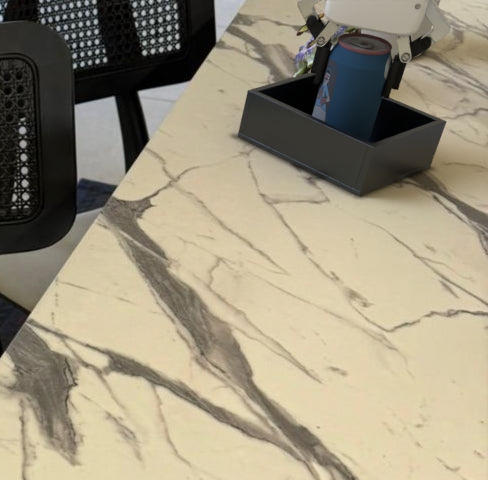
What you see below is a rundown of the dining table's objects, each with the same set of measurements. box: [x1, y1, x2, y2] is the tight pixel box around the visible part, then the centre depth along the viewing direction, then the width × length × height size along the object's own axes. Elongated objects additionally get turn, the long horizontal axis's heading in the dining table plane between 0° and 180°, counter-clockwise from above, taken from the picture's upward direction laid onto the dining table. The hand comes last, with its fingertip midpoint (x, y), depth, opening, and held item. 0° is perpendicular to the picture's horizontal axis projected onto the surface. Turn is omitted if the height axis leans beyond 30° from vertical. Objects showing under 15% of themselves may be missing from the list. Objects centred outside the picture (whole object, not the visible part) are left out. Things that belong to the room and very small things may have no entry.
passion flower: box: [292, 12, 361, 78], centre depth 132 cm, size 11×11×12 cm
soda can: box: [312, 33, 393, 142], centre depth 115 cm, size 7×7×12 cm
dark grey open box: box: [237, 72, 447, 198], centre depth 117 cm, size 18×14×6 cm
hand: (352, 86), depth 114 cm, fingers closed on soda can, 7 cm apart
